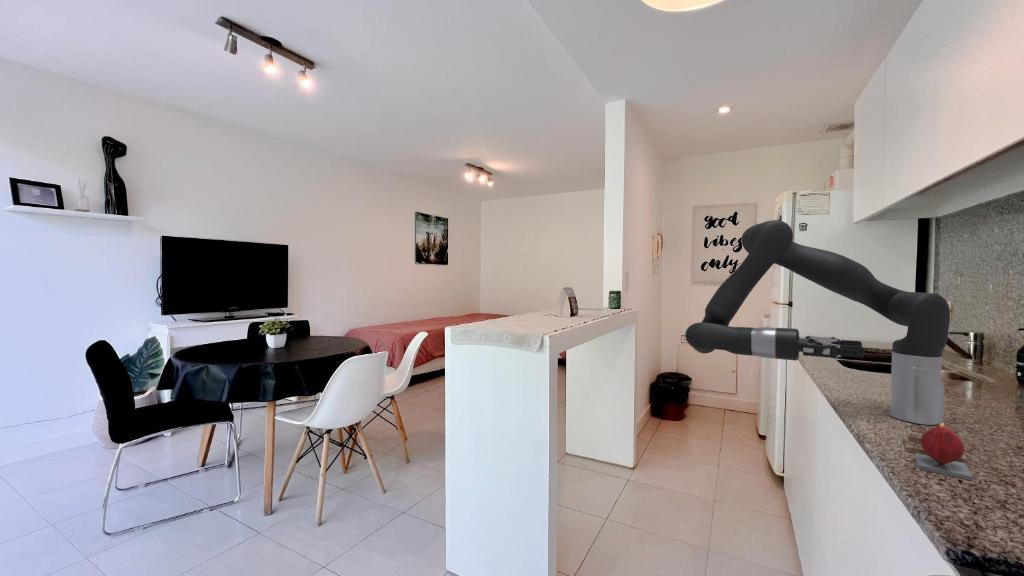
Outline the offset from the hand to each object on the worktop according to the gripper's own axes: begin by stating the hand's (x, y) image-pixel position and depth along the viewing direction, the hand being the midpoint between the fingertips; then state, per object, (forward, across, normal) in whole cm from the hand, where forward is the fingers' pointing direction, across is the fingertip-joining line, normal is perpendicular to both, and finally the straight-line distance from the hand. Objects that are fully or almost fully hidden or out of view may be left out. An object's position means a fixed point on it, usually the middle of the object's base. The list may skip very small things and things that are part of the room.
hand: (862, 349), depth 89 cm
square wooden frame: (+12, +6, +22) cm, 26 cm away
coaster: (+12, -4, +22) cm, 25 cm away
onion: (+11, -4, +21) cm, 24 cm away
